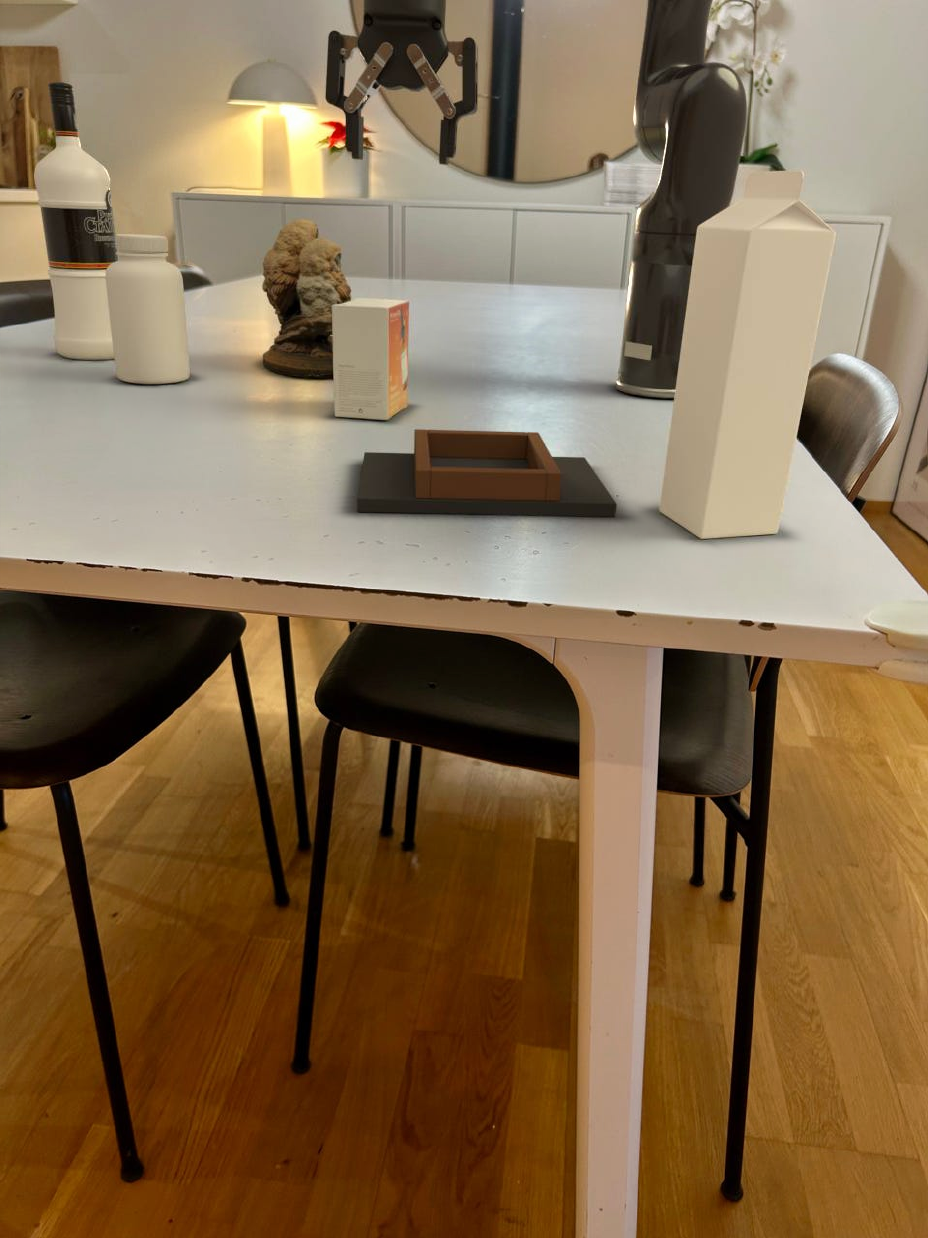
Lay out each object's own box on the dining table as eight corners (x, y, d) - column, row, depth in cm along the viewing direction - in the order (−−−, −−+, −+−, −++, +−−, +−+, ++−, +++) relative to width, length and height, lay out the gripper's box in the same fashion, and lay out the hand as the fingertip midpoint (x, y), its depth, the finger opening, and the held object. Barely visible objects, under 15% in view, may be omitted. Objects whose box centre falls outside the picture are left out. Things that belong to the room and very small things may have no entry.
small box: (388, 422, 87) (388, 307, 83) (332, 417, 88) (330, 303, 83) (409, 406, 94) (410, 299, 90) (358, 401, 95) (356, 296, 91)
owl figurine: (386, 378, 108) (387, 222, 100) (291, 383, 102) (284, 219, 95) (333, 355, 122) (330, 217, 115) (247, 358, 117) (238, 214, 109)
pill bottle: (206, 379, 103) (195, 236, 97) (149, 388, 97) (133, 237, 91) (158, 370, 107) (145, 232, 101) (101, 378, 101) (83, 232, 94)
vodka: (72, 348, 119) (35, 84, 106) (143, 350, 119) (115, 88, 106) (44, 359, 110) (0, 75, 98) (121, 362, 111) (87, 79, 98)
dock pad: (583, 468, 74) (587, 432, 73) (615, 517, 63) (620, 475, 62) (364, 464, 73) (364, 427, 72) (357, 512, 62) (356, 469, 61)
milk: (700, 540, 60) (757, 167, 50) (657, 511, 65) (702, 169, 55) (780, 534, 61) (849, 172, 52) (731, 506, 66) (787, 173, 57)
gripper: (488, -27, 84) (476, 168, 91) (337, -34, 85) (337, 159, 92) (481, -48, 77) (468, 164, 84) (317, -56, 78) (318, 154, 85)
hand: (400, 161), depth 88 cm, fingers open, 8 cm apart
